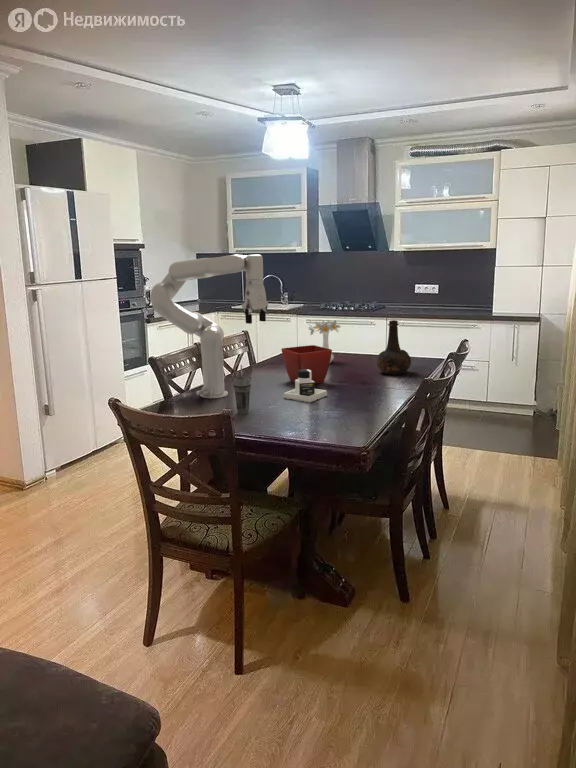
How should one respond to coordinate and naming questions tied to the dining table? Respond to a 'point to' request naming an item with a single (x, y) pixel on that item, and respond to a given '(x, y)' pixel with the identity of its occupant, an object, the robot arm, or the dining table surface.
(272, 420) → the dining table surface
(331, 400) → the dining table surface
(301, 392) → the medicine bottle
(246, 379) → the beverage cup
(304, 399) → the tray
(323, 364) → the plant pot
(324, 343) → the flower vase
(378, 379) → the dining table surface
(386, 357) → the glass bottle
